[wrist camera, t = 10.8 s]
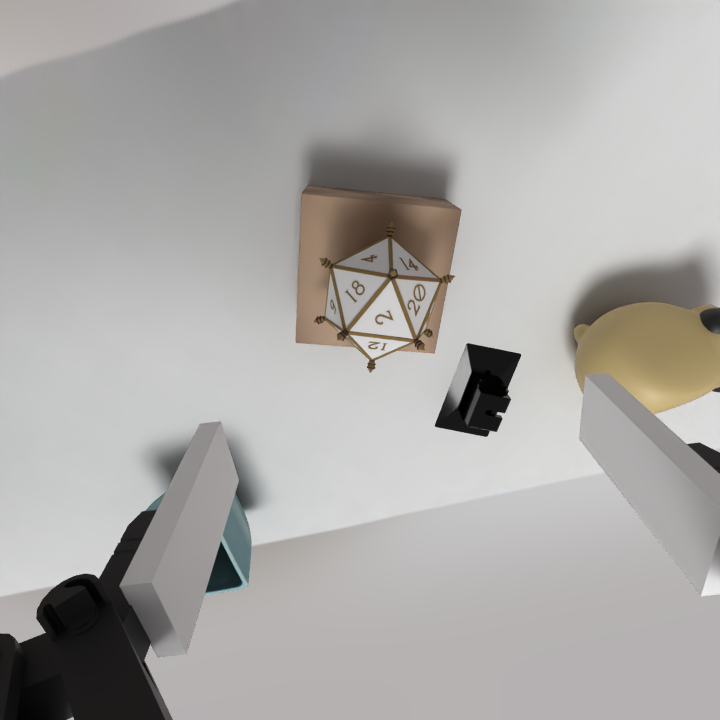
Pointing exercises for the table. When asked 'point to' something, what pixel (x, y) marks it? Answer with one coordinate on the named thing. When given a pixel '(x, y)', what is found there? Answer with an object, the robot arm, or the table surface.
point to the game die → (381, 298)
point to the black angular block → (478, 391)
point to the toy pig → (654, 352)
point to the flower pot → (229, 552)
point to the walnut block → (358, 230)
